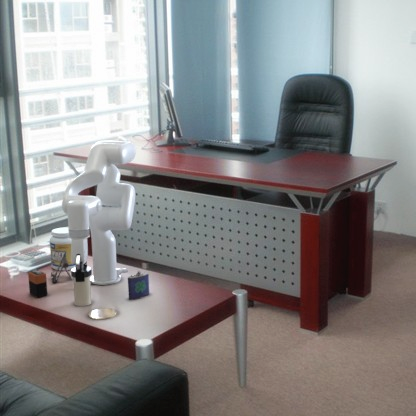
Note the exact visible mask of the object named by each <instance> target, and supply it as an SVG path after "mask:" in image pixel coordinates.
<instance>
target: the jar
mask: <svg viewBox="0 0 416 416" xmlns="http://www.w3.org/2000/svg"><path fill="white" fill-rule="evenodd" d="M90 278H91V276H89V277H85V281H84V282H76V279H75V278H74V277H72V281H73V282H72V283H73V297H74V298H73V299H74V300H73V301H74V305H75V306H78V307H86V306H89V305H91V304H92V287H91V286H92V285H91V282H90Z"/></svg>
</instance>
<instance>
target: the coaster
mask: <svg viewBox="0 0 416 416" xmlns="http://www.w3.org/2000/svg"><path fill="white" fill-rule="evenodd" d="M117 314H118V312H117V310H116V309H113V308H109V307H108V308H107V307H103V308H96V309H94V310H91V311H89V312H88V314H87V315H88V317H89V318H90V319H92V320H96V321H97V320H109V319H112V318H114V317H115V316H117Z"/></svg>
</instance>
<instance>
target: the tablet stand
mask: <svg viewBox="0 0 416 416" xmlns="http://www.w3.org/2000/svg"><path fill="white" fill-rule="evenodd" d="M61 263H62V267H61V269H60V270H59V268H60V265H61ZM68 266H69V265H68V262H67V258H66V257H63V258H62V259H61V262H60V264H59V266H58V269H57V270H55V273H54V274H53V272H50V279H51V282H52V284H57V283H58V282H59V278H60V276H61V273H62V272H63V270H62V269H63V268H65V270H64V271H65V272H66V274H67V275H68V277H69V279H70V280H71V281H73V278H72V276H71V273H70V272H69V270H67V269H66V268H67V267H68Z"/></svg>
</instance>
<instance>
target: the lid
mask: <svg viewBox="0 0 416 416" xmlns="http://www.w3.org/2000/svg"><path fill="white" fill-rule="evenodd" d="M81 267H82V266H81ZM83 271H84V276H85V277H89V276H90V277H92V275H93V269H92V267H90V266H88V265H87V266H83ZM70 276H71V278H73V277H74V278H75V268H72V269H71V270H70Z"/></svg>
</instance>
